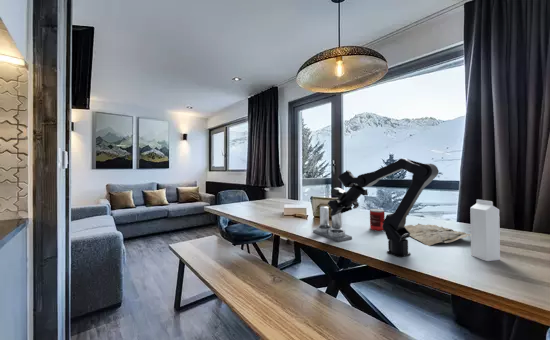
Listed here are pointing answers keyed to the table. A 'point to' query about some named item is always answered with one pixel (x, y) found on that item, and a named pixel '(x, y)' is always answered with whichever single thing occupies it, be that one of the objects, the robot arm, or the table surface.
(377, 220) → the canned food
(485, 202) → the milk
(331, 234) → the grey cylinder holder
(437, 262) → the table surface
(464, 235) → the stone slab
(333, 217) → the billet
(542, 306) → the table surface
